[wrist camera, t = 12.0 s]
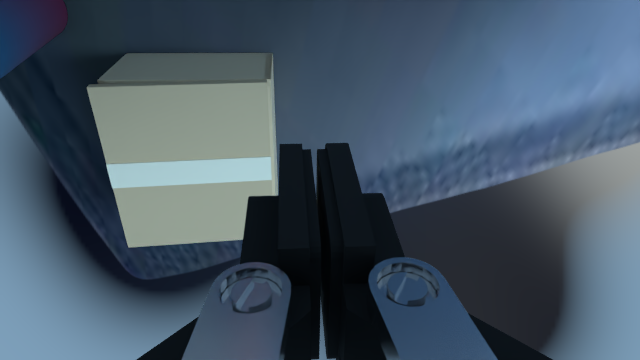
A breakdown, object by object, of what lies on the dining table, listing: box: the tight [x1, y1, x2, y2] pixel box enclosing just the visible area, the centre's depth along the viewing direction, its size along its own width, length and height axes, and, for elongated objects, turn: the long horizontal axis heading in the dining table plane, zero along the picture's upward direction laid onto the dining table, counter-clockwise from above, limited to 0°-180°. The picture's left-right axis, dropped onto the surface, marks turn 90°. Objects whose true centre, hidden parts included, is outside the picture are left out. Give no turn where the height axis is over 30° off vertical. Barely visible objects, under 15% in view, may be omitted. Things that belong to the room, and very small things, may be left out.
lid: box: [87, 80, 272, 247], centre depth 40 cm, size 14×16×1 cm
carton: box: [97, 53, 278, 196], centre depth 45 cm, size 14×16×8 cm
